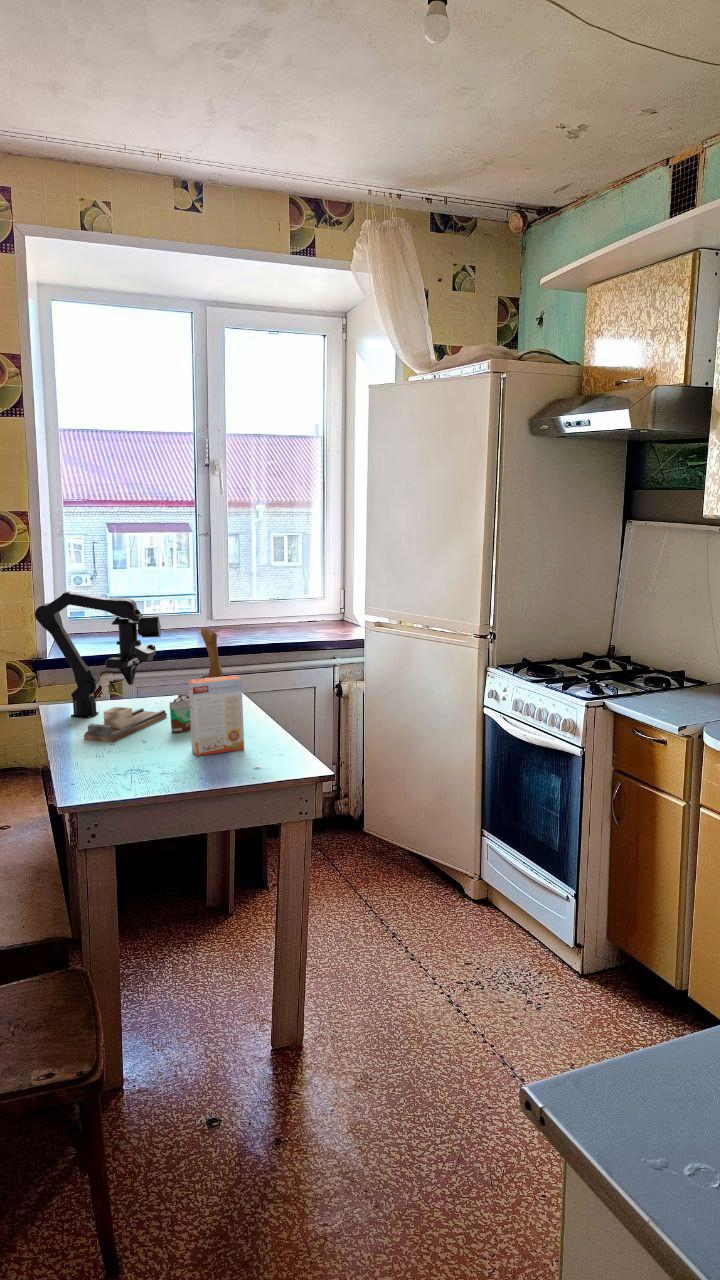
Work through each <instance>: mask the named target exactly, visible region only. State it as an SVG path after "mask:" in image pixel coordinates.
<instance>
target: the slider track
mask: <svg viewBox="0 0 720 1280" xmlns="http://www.w3.org/2000/svg"><path fill="white" fill-rule="evenodd" d="M167 714H168V713H167V712H166V710H165V709H162V710H159V711H152V710H151V711H150V710H149V711H147V710H145V709H144V708H142V707H141V708H138V709H136V710H134V711H132V719H133V724H131V725H128V726H126V727H124V728H122V729H114V728H112V726H111V725H104V723H103V724H100V723H99V724H97V723H90V724H88V725H87V731H85V732H84V735H83V741H93V742H103V743H110V744H111V743H116V742H117V741H120V740H122V739H124V738H126V737H129V736H130V735H132V734H134V733H137V732H138V731H141V730H143V729H145V728H147V727H150V726H151V725H153V724H155V723H158V722H159V721H162V720H164V719H166V718H167V717H168V716H167Z"/></svg>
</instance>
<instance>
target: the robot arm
mask: <svg viewBox="0 0 720 1280" xmlns="http://www.w3.org/2000/svg"><path fill="white" fill-rule="evenodd" d="M68 606H75V607H80V608H81V607H82V608H85V609H86V608H87V609H92V610H98V611H104V612H107V613H109V614H111V615H114V616H116V617H115V619H114V620H113V622H111V625H112V626H113V625H115V626H116V625H117V627H118V640H117V641H116V645H119V653H117V654H116V656H117V657H116V656H113V657H110V658H107V659H105V662H104V663H105V668H106V669H118V670H119V671H120V672H121V674H122V676H123V677H124V680H126V683H127V685H129V686H132V685H133V684H134V681H135V677H136V673H137V671H138V668H139V667H140V666H141V665H142V664H143V663H148V662H150V661H153V659H154V656H156V655H157V650H156V645H154V644H152V643H150V644H148V645H142V641H141V639H138V635H139V636H141V637H142V638H160V637H161V633H162V625H161V622H160V618H159V615H154V616H144V615H143V613H141V611H140V610H139V609H138V605H137V603H136V601H135V600H134V599H132V598H130V597H127V598H124V597H123V598H122V597H121V598H120V597H119V598H117V597H116V598H106V597H100V596H96V595H88V594H83V593H77V592H73V591H66V592H63V593H61V595H60V596H59V597H57V598H56V599H54V600H53V601H51V602H47V603H44V604H42V605H40V606H38V607H37V608H36V609H35V611H34V618H35V620H36V621H37V622H38V623H39V624H40V625H41V627H42V628H43V629H45V630H46V631H47V632H48V633H49V634H50V635H51V637H52V638H53V640H54V641H55V643H56V645H57V646H58V648H59V650H60V651H61V653H62V655H63V657H64V658H65V660H66V661H67V663H68V665H69V667H70V668H71V670H72V672H73V676H74V681H75V683H76V686H77V688H76V689H74V691H73V692H72V693H71V694H70V695H71V696H70V697H71V698H72V706H73V714H71V715H70V718H79V719H80V718H81V719H89V718H92V717H94V716H97V715H99V712H98V711H97V702H96V700H95V696H93V695H94V693H95V692H96V690H98V688H99V687H100V684H101V679H100V677H101V675H100V674H99V673H98V672H97V670H96V668H95V665H93V666H91V667H89V666H88V665H87V663H85V661H84V660H83V658H82V656H81V654H80V653H79V651H78V650H77V649H78V648H76V646H75V644H74V643H73V641H72V639H71V637H70V636H69V635H68V633H67V631H66V629H65V628H64V625H63V620H62V616H61V614H60V612H62V611H63V610H64V609H66V608H67V607H68Z"/></svg>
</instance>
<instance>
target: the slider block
mask: <svg viewBox="0 0 720 1280" xmlns="http://www.w3.org/2000/svg"><path fill="white" fill-rule="evenodd" d="M132 712H133V708H132V707H123V706H121V707H119V706H114V707H111V708H109V709H107V710H104V711H103V724H104V725H111V726H112V728H114V729H122V728H124V727H126V726H128V725H131V724H133V719H132Z"/></svg>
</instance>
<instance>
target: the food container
mask: <svg viewBox="0 0 720 1280" xmlns="http://www.w3.org/2000/svg"><path fill="white" fill-rule="evenodd" d="M169 714H170V727H171V734H173V735H174V734H183V733H188V732H191V723H190V704H189V693H177V697H176V698H175V699H173V701H170V702H169Z"/></svg>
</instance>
